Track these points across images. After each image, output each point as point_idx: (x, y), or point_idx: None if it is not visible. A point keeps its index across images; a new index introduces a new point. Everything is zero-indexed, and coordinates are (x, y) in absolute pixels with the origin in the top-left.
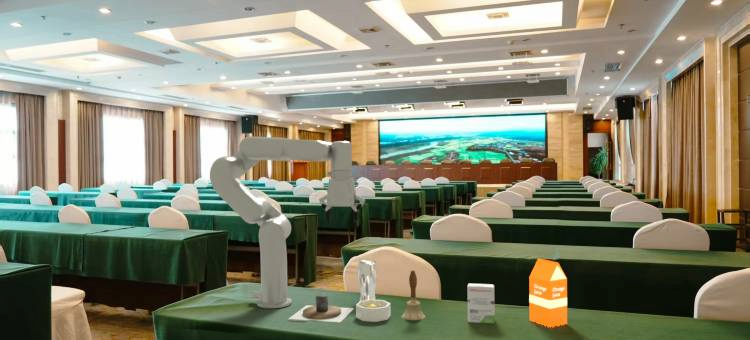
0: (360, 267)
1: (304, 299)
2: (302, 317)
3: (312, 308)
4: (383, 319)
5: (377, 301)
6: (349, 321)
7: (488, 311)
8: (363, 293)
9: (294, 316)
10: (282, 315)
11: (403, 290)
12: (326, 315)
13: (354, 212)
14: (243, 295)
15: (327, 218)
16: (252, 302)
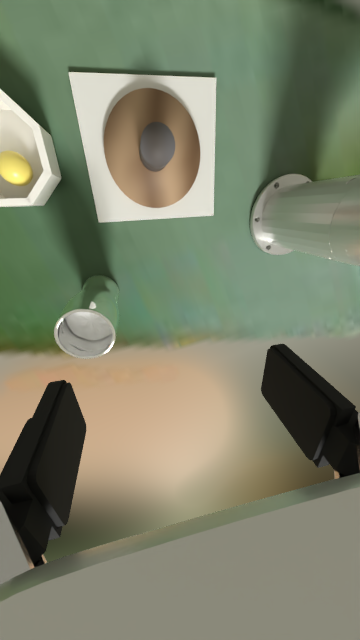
0: (99, 306)
1: (234, 269)
2: (185, 100)
3: (184, 166)
4: None
5: (8, 199)
6: (59, 112)
7: None
8: (101, 284)
9: (208, 105)
10: (242, 128)
11: (72, 385)
12: (122, 103)
13: (8, 478)
14: None
15: (298, 358)
16: None
